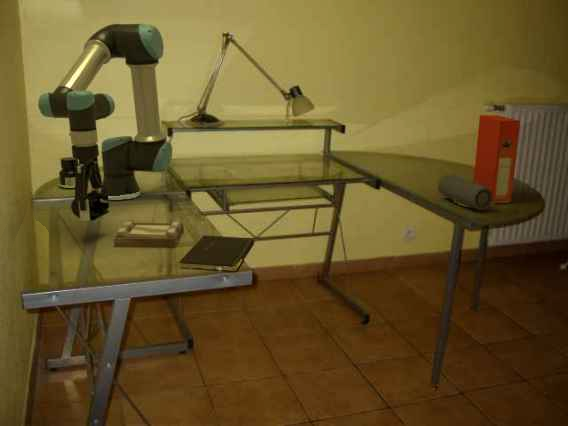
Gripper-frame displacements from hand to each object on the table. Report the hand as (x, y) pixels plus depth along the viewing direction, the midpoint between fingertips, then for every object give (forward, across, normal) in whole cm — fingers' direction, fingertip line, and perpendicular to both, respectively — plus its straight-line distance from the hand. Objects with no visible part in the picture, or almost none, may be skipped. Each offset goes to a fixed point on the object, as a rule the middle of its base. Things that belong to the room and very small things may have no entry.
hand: (91, 214), depth 180 cm
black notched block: (0, 0, 0) cm, 0 cm away
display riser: (+7, +1, +18) cm, 19 cm away
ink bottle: (+9, -63, -29) cm, 70 cm away
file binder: (+9, -53, +142) cm, 152 cm away
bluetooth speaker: (+9, -43, +128) cm, 135 cm away
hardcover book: (+8, +15, +41) cm, 44 cm away
